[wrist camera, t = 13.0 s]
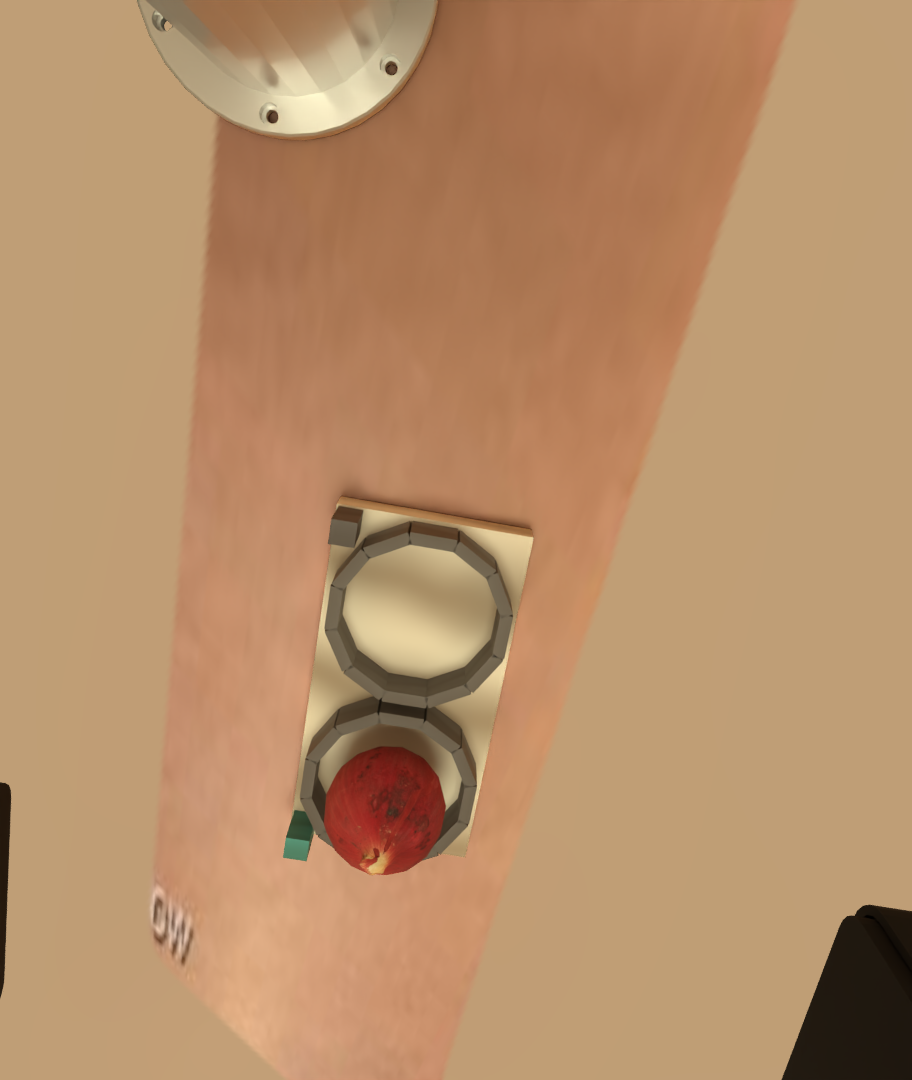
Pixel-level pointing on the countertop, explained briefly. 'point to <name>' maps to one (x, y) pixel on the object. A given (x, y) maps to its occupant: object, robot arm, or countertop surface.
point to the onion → (384, 810)
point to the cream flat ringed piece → (409, 654)
